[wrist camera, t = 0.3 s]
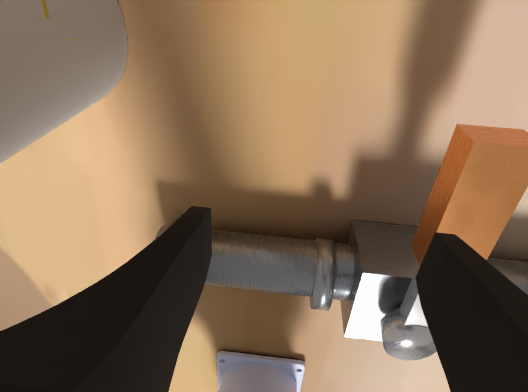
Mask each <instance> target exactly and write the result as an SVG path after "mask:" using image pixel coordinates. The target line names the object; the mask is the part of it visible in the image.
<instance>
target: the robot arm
mask: <svg viewBox="0 0 528 392" xmlns="http://www.w3.org/2000/svg"><path fill="white" fill-rule="evenodd" d="M211 257H212V237H211V208H204V207H195V206H192V207H191V208H189V209H188V210H187V211H186V212H185V213H184V214H183V215H182V216H181V217H180V218H179V219H178V220H176V221H175V222H174V223H173V224H172V225H171V226H170V227H169V228H168V229H167V230H166V231H164V232H163V233H162V234H161V235H160V236H159V237H157V238H156V239H155V240H154V241H153V242H152V243H151V244H149V245H148V246H147V247H146V248H144V249H143V250H142V251H141V252H139V253H138V254H137V255H135V256H134V257H133V258H132V259H130V260H129V261H128V262H126V263H125V264H124V265H122V266H121V267H119V268H118V269H117V270H115V271H114V272H112V273H111V274H109V275H108V276H106V277H104V278H103V279H101V280H100V281H98V282H97V283H95V284H93V285H92V286H90V287H88V288H86V289H85V290H83V291H81V292H79V293H77V294H76V295H74V296H72V297H70V298H69V299H67V300H65V301H63V302H61V303H60V304H58V305H56V306H54V307H52V308H50V309H48V310H46V311H44V312H42V313H40V314H38V315H35V316H33V317H31V318H29V319H27V320H25V321H23V322H21V323H18V324H16V325H14V326H12V327H9V328H7V329H5V330H3V331H0V392H168V391H169V387H170V383H171V380H172V376H173V372H174V369H175V365H176V361H177V358H178V355H179V352H180V349H181V346H182V343H183V340H184V337H185V335H186V332H187V329H188V327H189V324H190V322H191V319H192V316H193V314H194V311H195V308H196V306H197V303H198V301H199V298H200V295H201V293H202V290H203V287H204V284H205V282H206V278H207V274H208V270H209V265H210V261H211ZM416 284H417V289H418V294H419V299H420V303H421V308H422V311H423V313H424V316H425V319H426V322H427V325H428V328H429V331H430V333H431V336H432V339H433V342H434V345H435V347H436V350H437V353H438V356H439V358H440V361H441V364H442V367H443V369H444V372H445V375H446V378H447V381H448V384H449V388H450V391H451V392H528V295H527V294H526V293H525V292H524V291H522V290H521V289H520V288H519V287H518V286H516V285H515V284H514V283H513V282H511V281H510V280H509V279H508V278H507V277H505V276H504V275H503V274H502V273H501V272H500V271H498V270H497V269H496V268H495V267H494V266H493V265H491V264H490V263H489V262H488V261H487V260H486V259H484V258H483V257H482V256H481V255H480V254H479V253H477V252H476V251H475V250H474V249H473V248H471V247H470V246H469V245H468V244H467V243H465V242H464V241H463V240H462V239H460V238H459V237H458V236H456V235H455V234H447V233H438V232H435V234H434V236H433V238H432V241H431V243H430V245H429V248H428V250H427V252H426V255H425V257H424V259H423V262H422V264H421V266H420V268H419V271H418V273H417V275H416ZM304 371H305V363H304V362H303V361H301V360H293V359H285V358H277V357H269V356H260V355H252V354H244V353H236V352H227V351H219V352H218V353H217V374H218V392H300V390H301V386H302V381H303V376H304Z"/></svg>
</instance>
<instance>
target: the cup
mask: <svg viewBox="0 0 528 392" xmlns="http://www.w3.org/2000/svg"><path fill="white" fill-rule="evenodd" d="M127 55H128V39H127V31H126V26H125V22H124V18H123V15H122V12H121V9H120V6H119V4H118V2H117V0H0V163H2V162H4V161H5V160H7V159H8V158H10V157H11V156H13V155H14V154H16V153H18V152H19V151H21V150H22V149H24V148H25V147H27V146H29V145H30V144H32V143H33V142H35V141H36V140H38V139H40V138H41V137H43V136H44V135H46V134H47V133H49V132H50V131H52V130H54V129H55V128H57V127H58V126H60V125H61V124H63V123H65V122H66V121H68V120H69V119H71V118H72V117H74V116H76V115H77V114H79V113H80V112H82V111H83V110H85V109H86V108H88V107H90V106H91V105H93V104H94V103H96V102H97V101H99V100H101V99H102V98H104V97H105V96H107V95H108V94H109V93H110V92H111V91H112V90H113V89H114V88H115V87H116V85H117V84H118V83H119V81H120V79H121V77H122V75H123V73H124V69H125V66H126V62H127Z"/></svg>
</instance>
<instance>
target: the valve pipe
mask: <svg viewBox="0 0 528 392" xmlns="http://www.w3.org/2000/svg"><path fill="white" fill-rule="evenodd" d="M170 226H171V225H164V226H162V227H161V229H160V230H159V232H158V234H157V237H159V236H160V235H161V234H162V233H163V232H164V231H166V230H167V229H168V228H169V227H170ZM417 228H418V227H417V226H407V225H397V224H387V223H376V222H366V221H356V220H353V222H352V226H351V231H350V235H349V239H348V243H339V242H334V241H333V240H331V239H321V238H316V239H315V240H309V239H299V238H289V237H280V236H270V235H260V234H250V233H240V232H230V231H220V230H211V237H212V257H211V261H210V265H209V270H208V274H207V278H206V282H205V284H204V285H208V286H218V287H227V288H236V289H245V290H254V291H263V292H272V293H281V294H290V295H299V296H308V297H310V307H311V309H318V310H327V311H328V310H329V309H330V307H331V303H332V299H335V300H340V301H341V310H342V320H343V329H344V337H351V338H359V339H368V340H377V341H382V336H381V331H380V321H381V319H382V318H383V317H384V316H385V315H386V314H388V313H389V312H391V311H392V310H393V309H395V308H397V307H401V305H402V303H403V300H404V298H405V295H406V293H407V290H408V288H409V286H410V283H411V281H412V278H413V276H414V273H415V271H416V268H417V266H418V262H417V259H416V256H415V254H414V251H413V249H412V246H411V244H412V242H413V239H414V236H415V234H416V231H417ZM157 237H156V238H157ZM487 261H488V262H489V263H490V264H491V265H493V266H494V267H495V268H496V269H497V270H498V271H500V272H501V273H502V274H503V275H504V276H505V277H507V278H508V279H509V280H510V281H511V282H513V283H514V284H515V285H516V286H518V287H519V288H520V289H521V290H522V291H524V292H525V293H526V294H527V295H528V262H526V261H516V260H506V259H497V258H488V259H487Z"/></svg>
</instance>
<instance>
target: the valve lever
mask: <svg viewBox="0 0 528 392" xmlns="http://www.w3.org/2000/svg"><path fill="white" fill-rule="evenodd" d="M527 187H528V133H527V132H526V131H525V130H523V129H510V128H498V127H486V126H473V125H461V124H457V125H456V128H455V130H454V133H453V136H452V138H451V141H450V144H449V146H448V149H447V152H446V154H445V157H444V160H443V162H442V165H441V168H440V170H439V173H438V175H437V178H436V181H435V183H434V186H433V189H432V191H431V194H430V197H429V199H428V202H427V205H426V207H425V210H424V212H423V215H422V218H421V220H420V223H419V226H418V228H417V231H416V234H415V236H414V239H413V242H412V244H411V246H412V249H413V251H414V254H415V256H416V259H417V262H418V266H417V268H416V271H415V273H414V276H413V278H412V281H411V283H410V286H409V288H408V290H407V293H406V295H405V298H404V300H403V303H402V305H401V307H397V308H395V309H393V310H392V311H391V312H389V313H388V314H386V315H385V316H384V317H383V318H382V319H381V321H380V331H381V336H382V341H383V346H384V349H385V351H386V352H387V353H388V354H389V355H391V356H393V357H395V358H398V359H402V360H417V359H422V358H425V357H428V356H430V355H432V354H433V353H435V352H436V351H437V350H436V347H435V345H434V342H433V339H432V336H431V333H430V331H429V328H428V325H427V322H426V319H425V316H424V313H423V311H422V308H421V303H420V299H419V294H418V289H417V284H416V275H417V273H418V271H419V268H420V266H421V264H422V262H423V259H424V257H425V255H426V252H427V250H428V248H429V245H430V243H431V241H432V238H433V236H434V234H435V232H438V233H447V234H455V235H456V236H458V237H459V238H460V239H462V240H463V241H464V242H465V243H467V244H468V245H469V246H470V247H471V248H473V249H474V250H475V251H476V252H477V253H479V254H480V255H481V256H482V257H483V258H484V259H486V260H487V259H488V257H489V255H490V253H491V251H492V250H493V248H494V246H495V244H496V242H497V241H498V239H499V237H500V235H501V233H502V232H503V230H504V228H505V226H506V224H507V223H508V221H509V219H510V217H511V215H512V214H513V212H514V210H515V208H516V207H517V205H518V203H519V201H520V199H521V198H522V196H523V194H524V192H525V190H526V189H527Z"/></svg>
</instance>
